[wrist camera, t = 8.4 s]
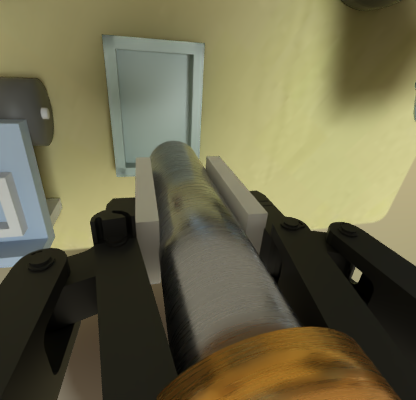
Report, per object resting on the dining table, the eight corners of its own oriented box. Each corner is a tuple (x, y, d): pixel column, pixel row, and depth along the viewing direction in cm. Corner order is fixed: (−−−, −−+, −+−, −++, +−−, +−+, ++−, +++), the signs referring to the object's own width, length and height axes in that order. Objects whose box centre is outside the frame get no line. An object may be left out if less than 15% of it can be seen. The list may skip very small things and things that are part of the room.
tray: (104, 36, 30) (101, 34, 28) (199, 44, 33) (204, 43, 30) (118, 168, 38) (116, 176, 35) (194, 166, 40) (198, 174, 37)
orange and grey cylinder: (134, 128, 16) (125, 536, 2) (210, 129, 17) (503, 410, 3) (139, 198, 18) (148, 622, 4) (205, 194, 19) (376, 527, 5)
